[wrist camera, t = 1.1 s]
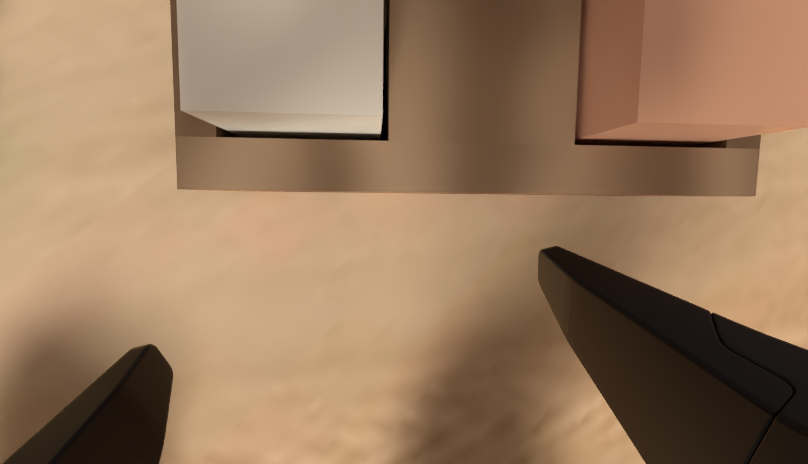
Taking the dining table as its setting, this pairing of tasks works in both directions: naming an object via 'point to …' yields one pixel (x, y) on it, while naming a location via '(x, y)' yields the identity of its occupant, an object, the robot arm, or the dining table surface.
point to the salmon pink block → (690, 71)
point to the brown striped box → (466, 120)
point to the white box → (283, 67)
